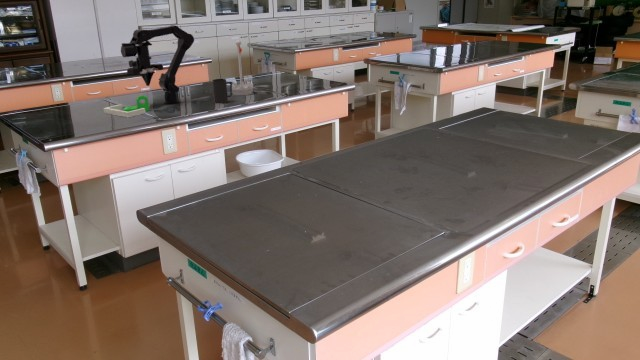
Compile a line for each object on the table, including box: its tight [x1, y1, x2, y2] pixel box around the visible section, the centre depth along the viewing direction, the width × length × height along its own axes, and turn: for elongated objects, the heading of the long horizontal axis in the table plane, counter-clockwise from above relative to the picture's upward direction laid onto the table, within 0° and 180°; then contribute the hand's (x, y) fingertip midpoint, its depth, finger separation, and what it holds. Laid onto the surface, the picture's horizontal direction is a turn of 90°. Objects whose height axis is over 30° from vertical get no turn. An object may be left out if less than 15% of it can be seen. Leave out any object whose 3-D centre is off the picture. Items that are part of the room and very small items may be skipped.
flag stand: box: [232, 39, 254, 96], centre depth 297 cm, size 13×13×30 cm
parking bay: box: [103, 103, 146, 118], centre depth 263 cm, size 10×19×2 cm, turn 55°
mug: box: [212, 78, 233, 104], centre depth 280 cm, size 10×7×12 cm
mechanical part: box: [123, 95, 150, 112], centre depth 267 cm, size 12×6×8 cm, turn 111°
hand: (148, 85), depth 272 cm, fingers closed
